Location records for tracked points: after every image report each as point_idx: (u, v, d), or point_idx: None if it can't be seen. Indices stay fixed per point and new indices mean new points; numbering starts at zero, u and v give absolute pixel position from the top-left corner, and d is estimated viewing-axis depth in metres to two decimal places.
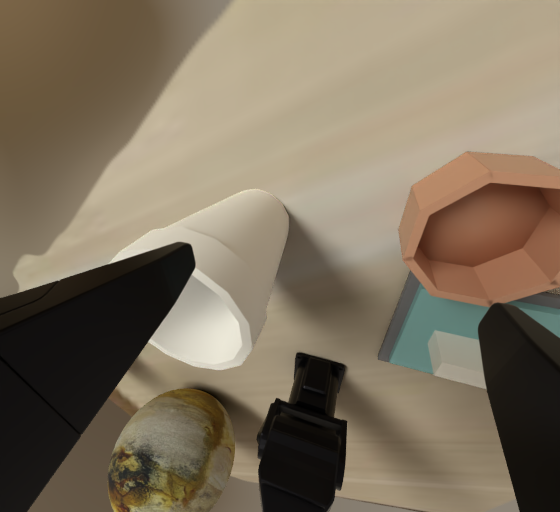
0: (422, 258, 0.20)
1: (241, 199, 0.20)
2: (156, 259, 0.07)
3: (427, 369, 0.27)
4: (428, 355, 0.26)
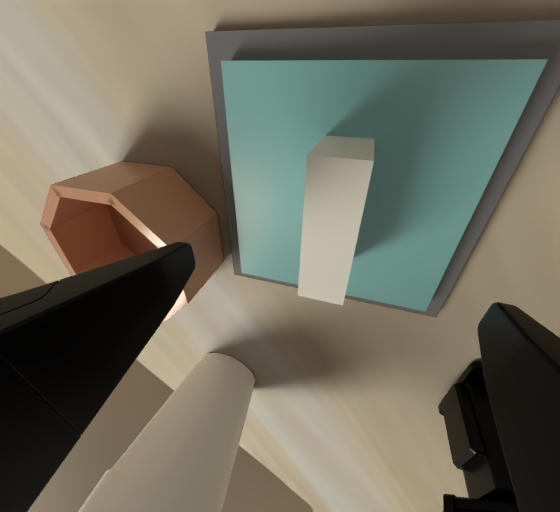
0: None
1: None
2: (156, 259, 0.07)
3: (439, 254, 0.12)
4: (386, 256, 0.13)
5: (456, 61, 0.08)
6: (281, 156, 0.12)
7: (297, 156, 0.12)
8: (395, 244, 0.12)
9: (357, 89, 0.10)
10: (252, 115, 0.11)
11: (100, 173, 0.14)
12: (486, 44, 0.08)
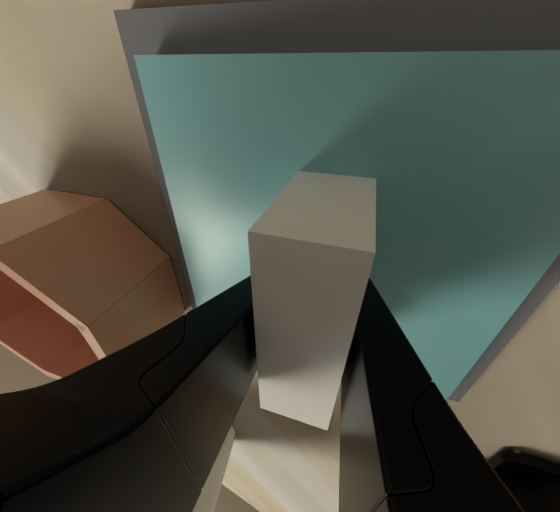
0: None
1: None
2: None
3: (471, 339, 0.08)
4: None
5: (527, 53, 0.05)
6: (238, 197, 0.08)
7: (260, 198, 0.08)
8: (405, 320, 0.09)
9: (347, 101, 0.06)
10: (191, 138, 0.07)
11: (2, 210, 0.10)
12: None
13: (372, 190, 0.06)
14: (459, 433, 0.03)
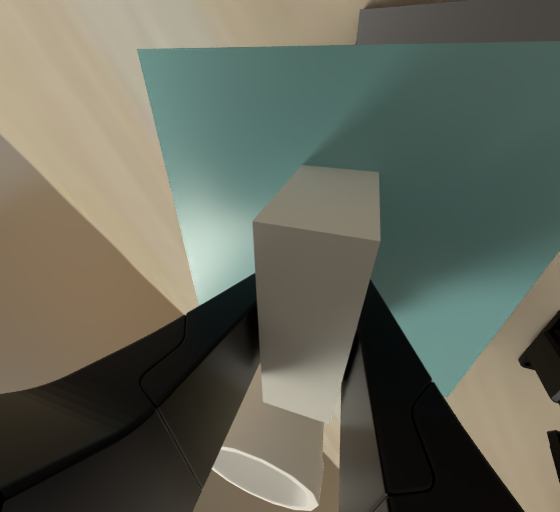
0: None
1: None
2: None
3: (473, 334, 0.08)
4: None
5: (531, 44, 0.05)
6: (240, 192, 0.08)
7: (263, 193, 0.08)
8: (407, 316, 0.09)
9: (351, 94, 0.06)
10: (194, 133, 0.07)
11: None
12: None
13: (375, 183, 0.06)
14: (459, 433, 0.03)
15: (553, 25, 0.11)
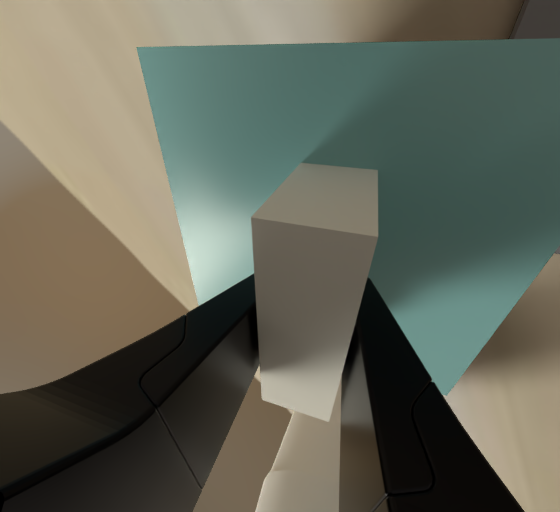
0: None
1: None
2: None
3: (472, 332, 0.08)
4: None
5: (528, 42, 0.05)
6: (240, 190, 0.08)
7: (262, 191, 0.08)
8: (406, 314, 0.09)
9: (349, 92, 0.06)
10: (193, 131, 0.07)
11: None
12: None
13: (374, 180, 0.06)
14: (459, 433, 0.03)
15: None
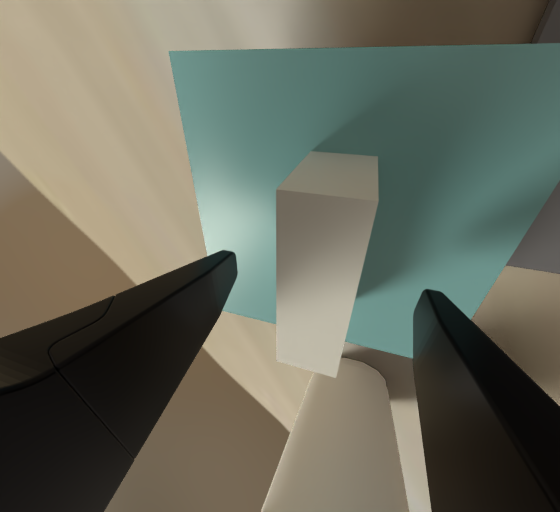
0: None
1: (300, 407, 0.21)
2: (207, 270, 0.07)
3: (462, 302, 0.09)
4: (393, 301, 0.10)
5: (500, 46, 0.06)
6: (255, 177, 0.09)
7: (276, 177, 0.09)
8: (404, 288, 0.10)
9: (353, 89, 0.07)
10: (216, 124, 0.08)
11: None
12: None
13: (374, 164, 0.07)
14: None
15: None
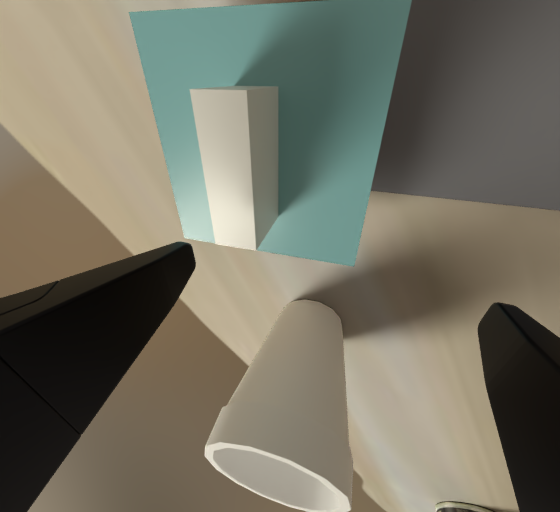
0: None
1: None
2: (156, 259, 0.07)
3: (355, 204, 0.13)
4: (310, 210, 0.13)
5: (335, 1, 0.09)
6: None
7: None
8: (315, 197, 0.13)
9: (254, 35, 0.10)
10: (167, 68, 0.11)
11: None
12: None
13: (269, 87, 0.10)
14: None
15: None
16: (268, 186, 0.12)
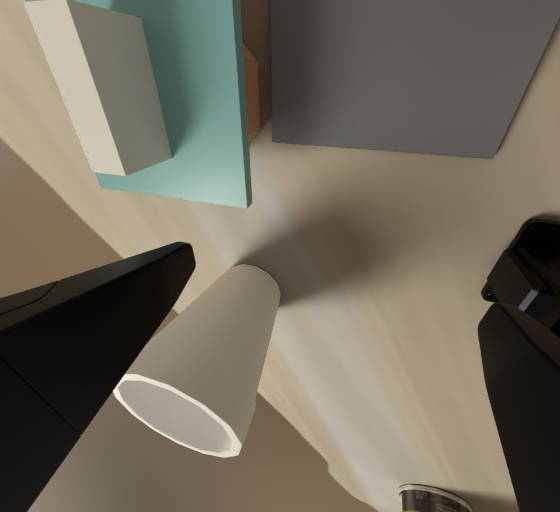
0: None
1: None
2: (156, 259, 0.07)
3: (232, 139, 0.13)
4: (196, 148, 0.14)
5: None
6: None
7: None
8: (197, 134, 0.14)
9: None
10: None
11: None
12: None
13: (123, 13, 0.11)
14: None
15: None
16: (141, 117, 0.12)
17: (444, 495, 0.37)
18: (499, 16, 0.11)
